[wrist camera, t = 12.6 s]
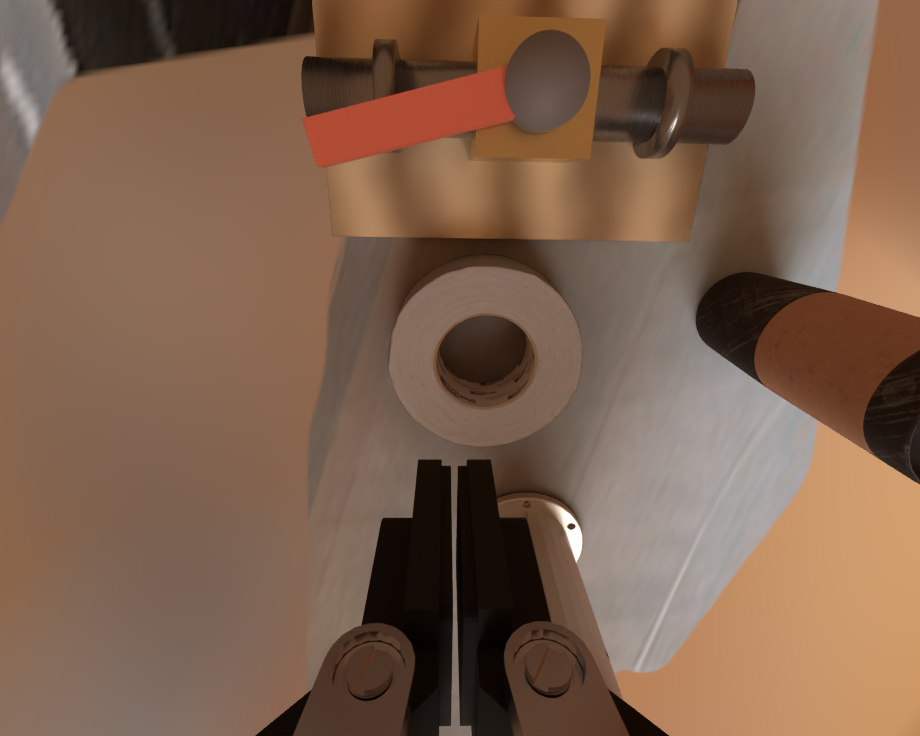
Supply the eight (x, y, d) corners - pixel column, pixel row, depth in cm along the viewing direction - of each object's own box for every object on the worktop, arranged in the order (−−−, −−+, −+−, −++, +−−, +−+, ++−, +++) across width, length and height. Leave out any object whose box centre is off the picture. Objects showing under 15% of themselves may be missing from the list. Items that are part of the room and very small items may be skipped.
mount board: (738, -41, 30) (747, -48, 29) (682, 240, 37) (688, 241, 36) (310, -56, 29) (306, -64, 28) (335, 234, 36) (332, 236, 35)
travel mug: (688, 358, 41) (886, 504, 23) (695, 273, 38) (930, 362, 20) (774, 348, 41) (1043, 488, 22) (788, 263, 38) (1110, 342, 20)
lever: (571, 34, 25) (585, 19, 23) (581, 123, 27) (594, 117, 24) (307, 103, 26) (292, 96, 24) (332, 185, 28) (321, 185, 25)
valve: (718, 58, 32) (793, 25, 25) (697, 166, 35) (759, 163, 28) (319, 46, 31) (283, 8, 24) (328, 158, 34) (298, 152, 27)
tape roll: (369, 383, 41) (359, 409, 37) (434, 222, 36) (432, 229, 32) (520, 440, 44) (529, 471, 39) (600, 298, 39) (621, 314, 34)
